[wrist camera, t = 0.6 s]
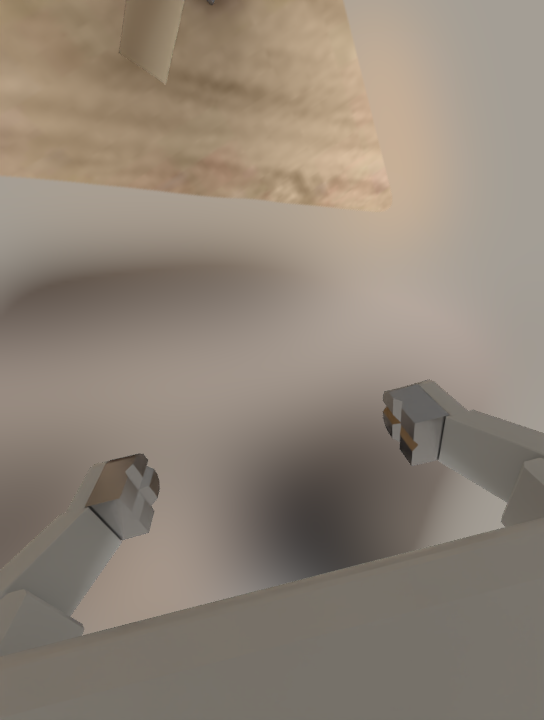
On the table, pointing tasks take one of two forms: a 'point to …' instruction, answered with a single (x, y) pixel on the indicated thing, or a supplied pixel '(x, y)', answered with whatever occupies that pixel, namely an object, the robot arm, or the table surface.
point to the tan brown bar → (151, 34)
